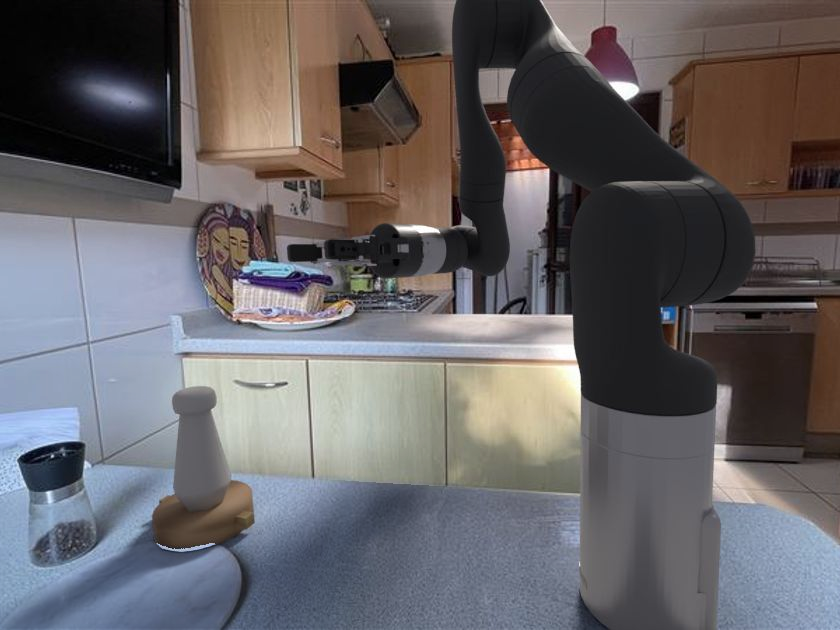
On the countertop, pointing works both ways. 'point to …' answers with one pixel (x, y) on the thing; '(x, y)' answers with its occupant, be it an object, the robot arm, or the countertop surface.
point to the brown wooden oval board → (203, 519)
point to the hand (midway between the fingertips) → (306, 251)
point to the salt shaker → (199, 451)
